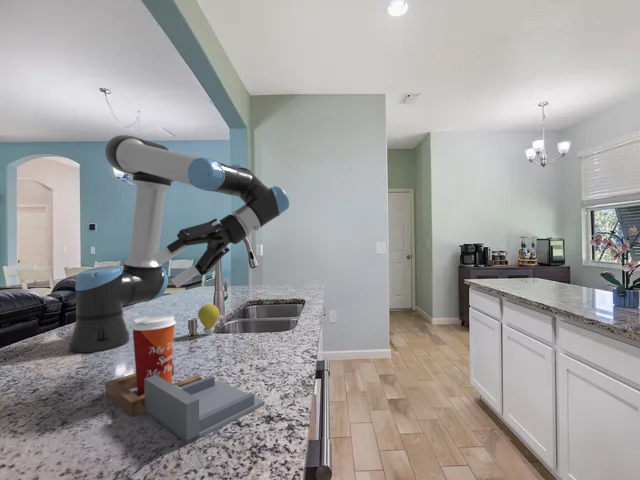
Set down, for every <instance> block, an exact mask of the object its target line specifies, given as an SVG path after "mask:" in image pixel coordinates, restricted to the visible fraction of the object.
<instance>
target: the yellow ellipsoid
mask: <svg viewBox="0 0 640 480" xmlns="http://www.w3.org/2000/svg"><path fill="white" fill-rule="evenodd" d="M219 316H220V309H219V308H218V306H216V305H215V304H212V303H211V304H210V303H208V304H205V305H202V306H201V307H200V308H199V310H198V313H197V318H198V319H199V321H200V323H201V324H202V326H203V327H204V328H203V332H204V334H205V336H212V335H213V334H214V331H215V327H214V326H215V324H216V322H217V321H218V319H219ZM211 334H212V335H211Z"/></svg>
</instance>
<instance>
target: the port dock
mask: <svg viewBox="0 0 640 480" xmlns="http://www.w3.org/2000/svg"><path fill="white" fill-rule="evenodd" d="M215 380H216V377H215V376H213V375H209V376H206V377H202V378H201V380H198V381H195V382H192V383H190V384H187V385H184V386H182V387H178V386H176V385H173V384H174V383H172V382H171V383H169V382H167V381H166V380H164V379H162V378H160V377H158V376H157V375H154V376H151V377H148V378H145V379H144V395H145V412H144V414H146V415H147V416H149V417H150V418H151V419H153V420H154V421H155V422H156V423H158V424H159V425H160V426H162V427H163V428H164V427H165V430H167V429H168V430H169V431H168V430H167V431H168V432H169V433H171V434H172V433H173V435H174V436H175V437H176V438H177V437H178V439H179V440H180V441H181V440H182V441H181V442H183V443H184V444H185V445H188V446H189V444H192V443H194V442H195V441H198V440H199V439H202V438H204V437H205V436H207V435H209V434H211V433H213V432H214V431H216V430H218V429H221V428H222V427H224V426H226V425H228V424H230V423H232V422H234V421H236V420H237V419H239V418H241V417H243V416H245V415H248V414H249V413H252V412H253V411H255V410H257V409H259V408H260V407H263V406H264V405H266V404H265V403H266V402H265V400H263V399H261V398H258V397H256V396H255V394H253V393H251V392H249V393H248V392H245V391H243V390H241V389H239V388H236V387H234V386H232V385H230V384H228V383H226V382H224V381H221V380H219V379H218V380H216V381H215Z"/></svg>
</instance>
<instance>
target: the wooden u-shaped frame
mask: <svg viewBox="0 0 640 480" xmlns="http://www.w3.org/2000/svg"><path fill="white" fill-rule="evenodd" d="M174 365H175V364H174V363H172V376H173V375H175V374H174V373H175V366H174ZM201 379H202V377H201V376H199V375H195V376H192V377H188V378H187V379H186V378H185V379H183V380H180V381H178V382H175V383H172V384H173V385H176V386H178V387H182V386H184V385H187V384H190V383H192V382H195V381H198V380H201ZM104 388H105V391H104V393H105V395H106V396H107V397H108V398H109V399H111V400H112V401H113V402H114V403H115V404H117V405H118V406H119V407H120V408H121V409H122V410H124V411H125V412H126V413H127V414H128V415H129V416H130V417H134V416H136V415H137V416H138V415H139V414H142V413H145V395H141V396H138V395H136V394H135V393H134V392H132V391H131V389H135V388H137V378H136V372H135V373H131V374H128V375H125V376H121V377H118V378H115V379H112V380H108V381H105V382H104Z"/></svg>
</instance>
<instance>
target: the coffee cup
mask: <svg viewBox="0 0 640 480" xmlns="http://www.w3.org/2000/svg"><path fill="white" fill-rule="evenodd" d="M174 317H175V316H173V315H172V314H167V313H166V314H151V315H149V314H148V315H144V316H141V317H138V318H135V319H133V321H132V325H131V326H130V329H131V330H132V336H133V337H132V338H133V349H134V351H133V352H134V363H135V373H136V378H137V387H136V388H137V396H141V395H144V379H145V378H148V377H151V376H154V375H157V376H158V377H160V378H162V379H164V380H166V381H167V382H169V383H171V384H172V376H173V375H172V364H173V359H174V358H173V357H174V354H173V353H174V339H175V338H174V337H175V336H174V335H175V325H176V324H177V322H176V320H175V318H174Z"/></svg>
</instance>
